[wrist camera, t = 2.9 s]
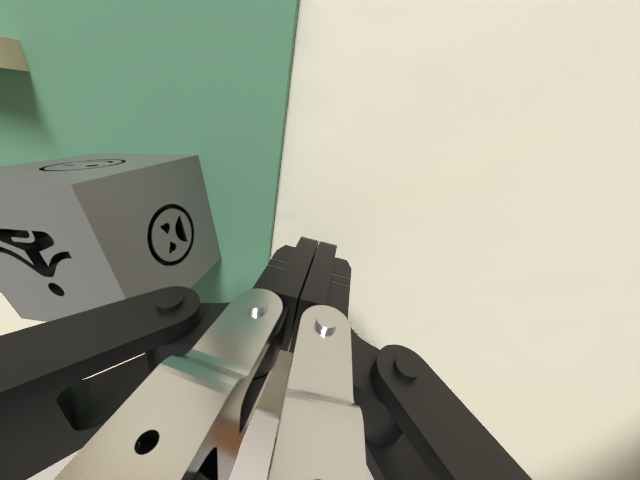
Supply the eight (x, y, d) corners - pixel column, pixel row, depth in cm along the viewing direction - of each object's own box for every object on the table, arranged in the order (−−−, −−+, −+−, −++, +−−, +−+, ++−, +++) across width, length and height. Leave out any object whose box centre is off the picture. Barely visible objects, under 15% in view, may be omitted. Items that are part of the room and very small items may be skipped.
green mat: (308, -82, 7) (306, -90, 6) (258, 360, 16) (256, 364, 16) (-345, -203, 8) (-369, -214, 8) (-34, 278, 17) (-40, 280, 17)
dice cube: (198, 154, 10) (71, 184, 6) (221, 257, 12) (143, 334, 8) (96, 153, 11) (-87, 179, 6) (136, 250, 13) (21, 318, 9)
